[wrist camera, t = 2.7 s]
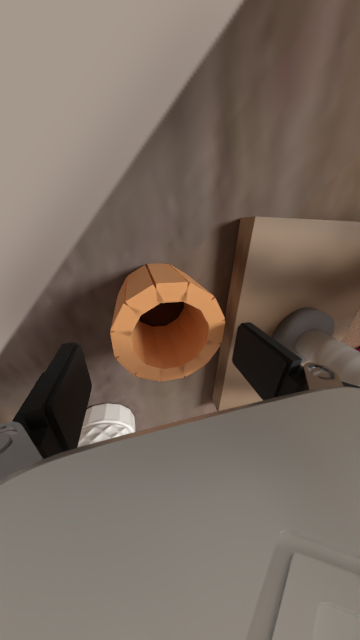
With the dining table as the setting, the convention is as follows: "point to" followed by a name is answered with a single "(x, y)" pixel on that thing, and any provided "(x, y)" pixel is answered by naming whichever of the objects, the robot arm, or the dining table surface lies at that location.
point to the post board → (292, 296)
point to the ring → (173, 339)
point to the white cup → (106, 423)
